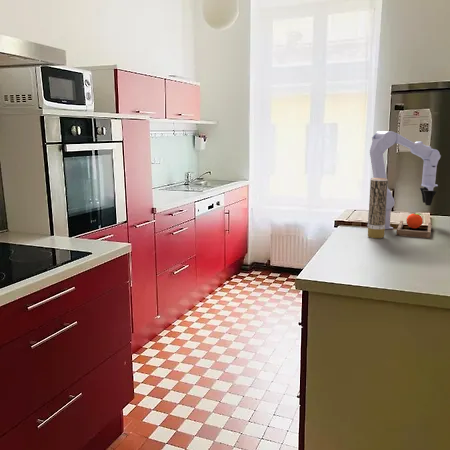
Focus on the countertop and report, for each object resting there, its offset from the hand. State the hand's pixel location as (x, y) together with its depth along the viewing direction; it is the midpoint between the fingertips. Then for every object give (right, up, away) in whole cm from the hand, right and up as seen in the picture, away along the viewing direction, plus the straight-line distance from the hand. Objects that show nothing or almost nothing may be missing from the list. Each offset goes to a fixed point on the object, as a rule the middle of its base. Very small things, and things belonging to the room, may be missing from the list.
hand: (426, 204), depth 222 cm
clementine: (-7, -12, -4) cm, 14 cm away
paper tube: (-30, -15, -20) cm, 39 cm away
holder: (-10, -13, -11) cm, 20 cm away
